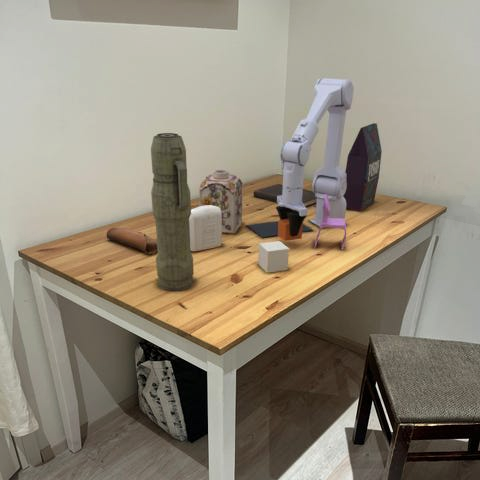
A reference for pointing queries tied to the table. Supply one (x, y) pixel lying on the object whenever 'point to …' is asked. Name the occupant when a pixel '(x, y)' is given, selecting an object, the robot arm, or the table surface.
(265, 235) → the back mat
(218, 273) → the table surface
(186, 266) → the thermos
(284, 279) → the table surface
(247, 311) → the table surface
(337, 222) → the toy chair
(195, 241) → the photo printer
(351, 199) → the decorative box
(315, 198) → the hardcover book
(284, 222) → the orange box
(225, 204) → the decorative jar
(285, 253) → the white cube
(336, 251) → the table surface
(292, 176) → the robot arm
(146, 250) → the sunglasses case
